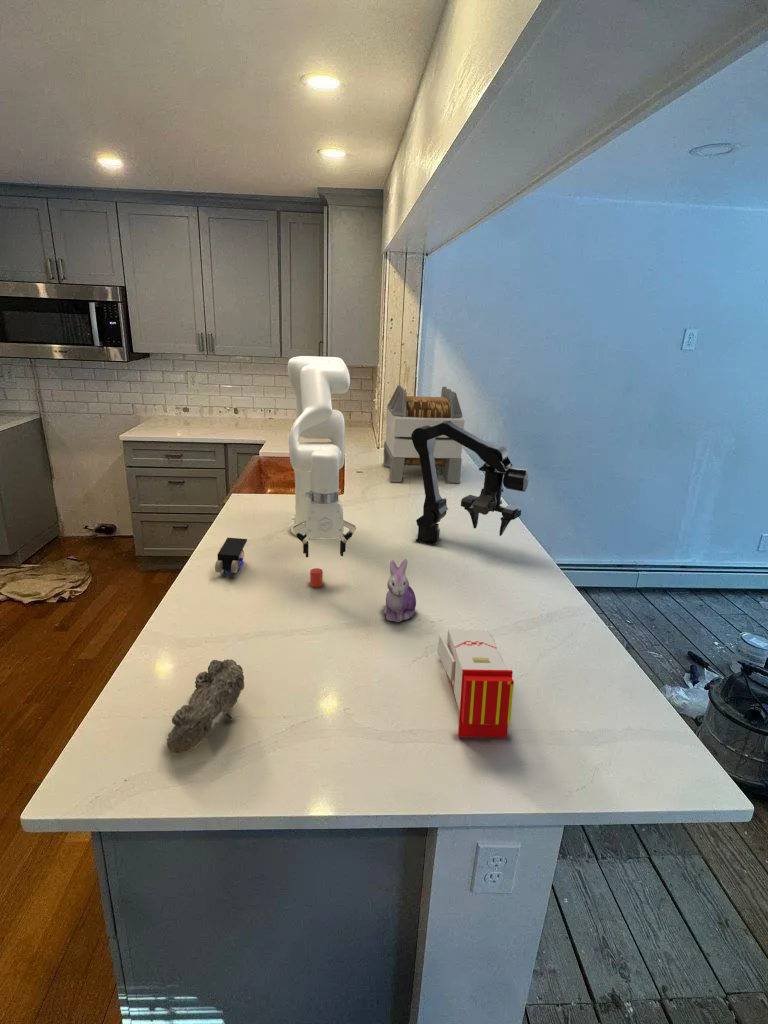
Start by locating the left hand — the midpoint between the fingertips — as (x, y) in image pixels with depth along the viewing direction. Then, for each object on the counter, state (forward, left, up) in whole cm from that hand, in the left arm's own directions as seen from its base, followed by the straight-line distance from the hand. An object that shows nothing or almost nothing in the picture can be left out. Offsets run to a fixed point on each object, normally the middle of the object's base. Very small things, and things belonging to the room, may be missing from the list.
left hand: (324, 554), depth 158 cm
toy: (+57, -6, -9) cm, 58 cm away
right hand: (+16, +54, -1) cm, 56 cm away
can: (-1, -2, -9) cm, 9 cm away
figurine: (+25, +5, -9) cm, 27 cm away
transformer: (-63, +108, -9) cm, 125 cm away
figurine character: (-24, -15, -9) cm, 30 cm away
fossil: (+30, -50, -9) cm, 59 cm away
